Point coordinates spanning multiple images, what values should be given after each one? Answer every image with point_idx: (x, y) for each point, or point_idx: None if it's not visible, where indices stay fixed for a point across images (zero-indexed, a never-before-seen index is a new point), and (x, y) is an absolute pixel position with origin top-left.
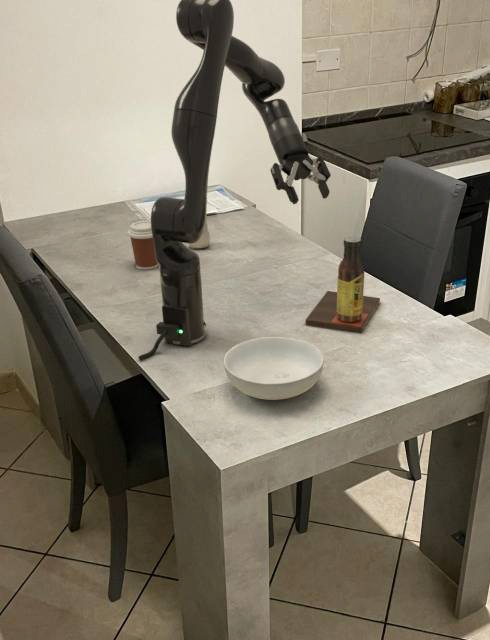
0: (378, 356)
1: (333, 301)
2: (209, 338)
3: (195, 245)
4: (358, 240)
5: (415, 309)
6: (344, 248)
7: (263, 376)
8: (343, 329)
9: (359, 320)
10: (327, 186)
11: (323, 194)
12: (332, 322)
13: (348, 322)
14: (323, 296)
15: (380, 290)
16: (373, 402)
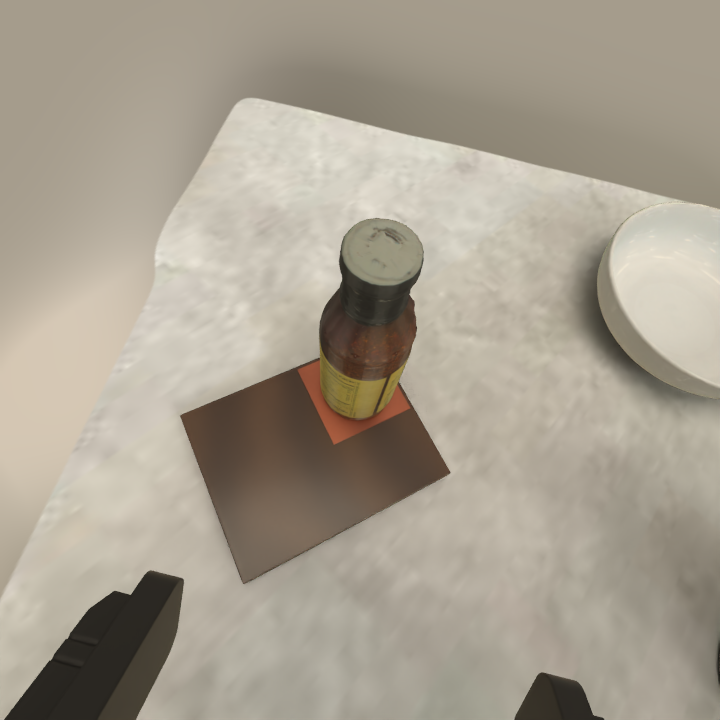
0: None
1: (299, 502)
2: (713, 617)
3: None
4: (376, 221)
5: (157, 328)
6: (408, 291)
7: (684, 347)
8: None
9: None
10: (43, 672)
11: (159, 651)
12: (408, 404)
13: None
14: (290, 557)
15: (90, 482)
16: (543, 184)
